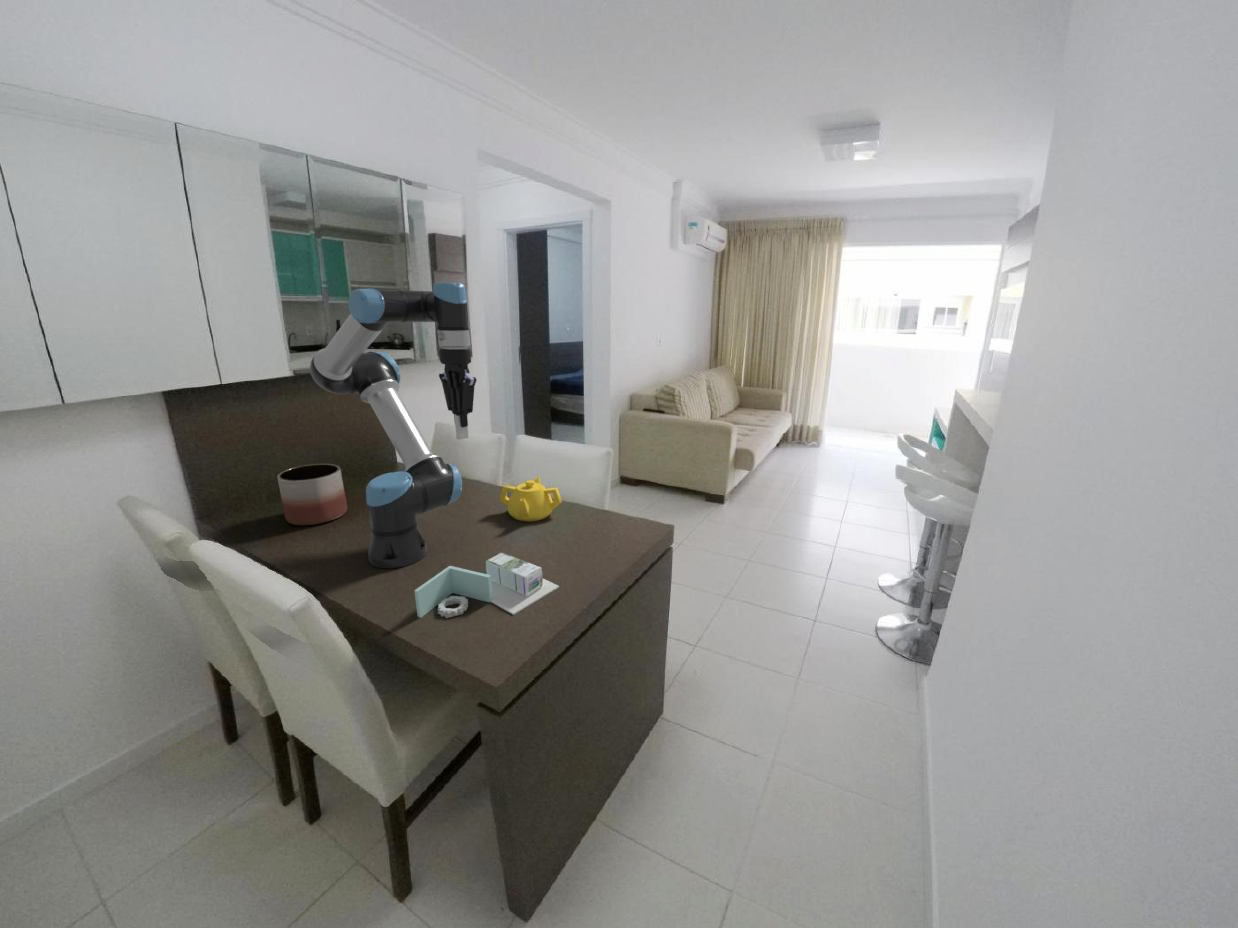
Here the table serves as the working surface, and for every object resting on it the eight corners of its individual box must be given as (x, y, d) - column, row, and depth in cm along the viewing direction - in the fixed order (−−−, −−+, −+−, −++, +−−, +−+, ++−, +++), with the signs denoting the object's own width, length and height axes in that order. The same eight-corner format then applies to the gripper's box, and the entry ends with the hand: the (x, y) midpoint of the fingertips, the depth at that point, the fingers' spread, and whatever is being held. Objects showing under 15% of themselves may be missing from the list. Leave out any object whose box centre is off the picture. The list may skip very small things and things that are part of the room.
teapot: (564, 515, 165) (564, 483, 162) (521, 528, 155) (519, 494, 152) (539, 501, 178) (538, 470, 174) (497, 512, 167) (495, 479, 164)
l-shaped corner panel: (417, 618, 111) (414, 590, 108) (452, 592, 121) (449, 565, 119) (461, 631, 107) (458, 602, 104) (492, 602, 117) (490, 575, 115)
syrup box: (486, 579, 125) (527, 598, 118) (484, 559, 123) (526, 577, 116) (502, 569, 130) (543, 587, 122) (501, 550, 128) (542, 567, 120)
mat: (471, 590, 121) (471, 589, 121) (517, 567, 132) (517, 565, 132) (513, 615, 112) (513, 613, 112) (559, 587, 123) (559, 586, 123)
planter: (291, 532, 150) (281, 485, 145) (282, 514, 162) (272, 470, 157) (354, 517, 161) (346, 473, 156) (340, 501, 174) (333, 460, 169)
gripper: (426, 346, 122) (435, 436, 130) (457, 350, 115) (465, 445, 122) (452, 345, 128) (459, 431, 135) (483, 348, 120) (489, 439, 128)
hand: (462, 438), depth 129 cm, fingers closed
